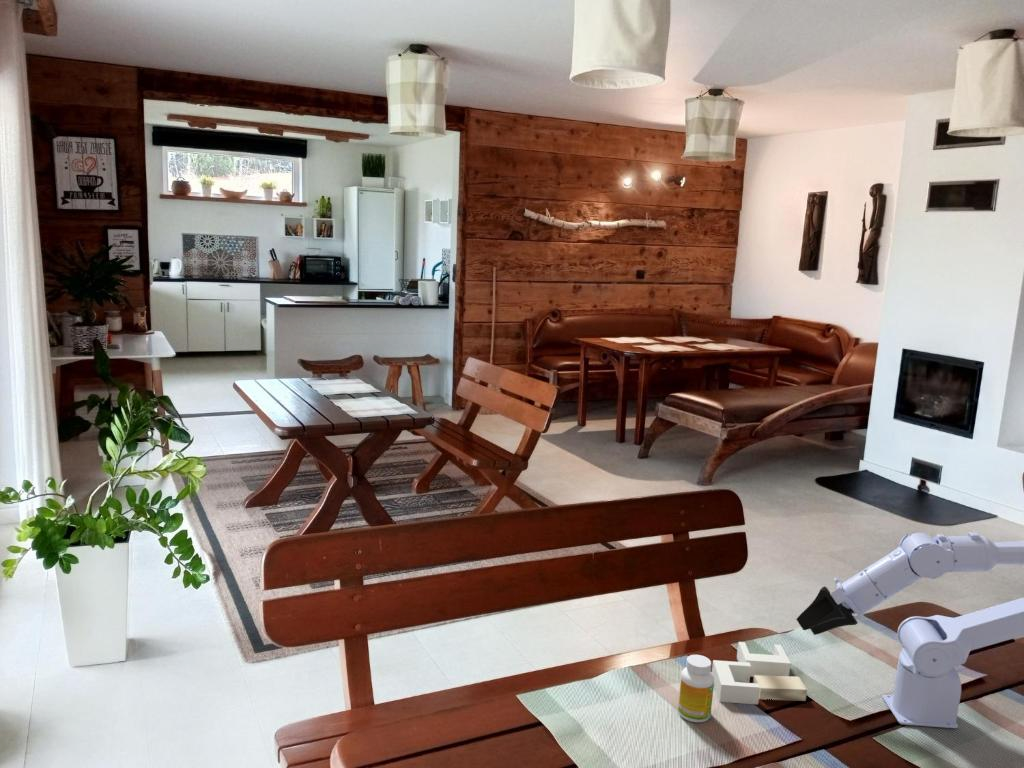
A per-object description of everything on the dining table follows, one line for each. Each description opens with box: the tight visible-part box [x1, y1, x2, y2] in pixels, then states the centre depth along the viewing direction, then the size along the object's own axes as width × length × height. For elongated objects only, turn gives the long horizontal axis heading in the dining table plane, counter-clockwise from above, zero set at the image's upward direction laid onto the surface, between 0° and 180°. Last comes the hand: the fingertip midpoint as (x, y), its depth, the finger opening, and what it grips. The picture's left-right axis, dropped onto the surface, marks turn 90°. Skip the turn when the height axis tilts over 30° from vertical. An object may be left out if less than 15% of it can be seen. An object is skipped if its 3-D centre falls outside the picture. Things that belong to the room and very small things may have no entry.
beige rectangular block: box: [752, 675, 808, 702], centre depth 142 cm, size 8×4×2 cm, turn 90°
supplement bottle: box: [677, 654, 715, 723], centre depth 134 cm, size 5×5×10 cm
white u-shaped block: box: [736, 641, 791, 678], centre depth 149 cm, size 6×8×3 cm
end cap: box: [711, 659, 760, 705], centre depth 142 cm, size 6×8×3 cm
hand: (805, 627), depth 138 cm, fingers open, 7 cm apart
